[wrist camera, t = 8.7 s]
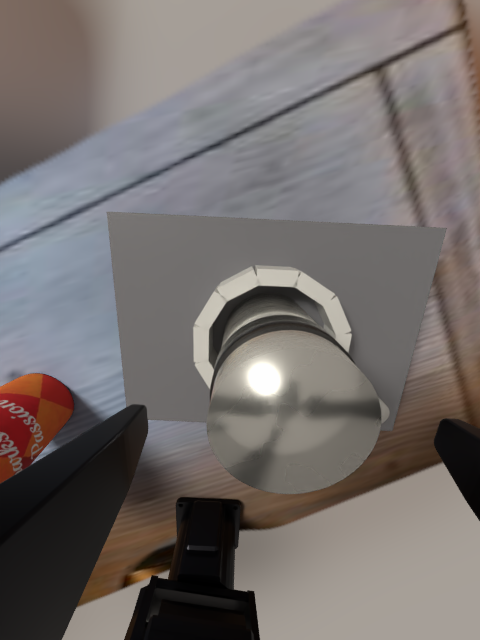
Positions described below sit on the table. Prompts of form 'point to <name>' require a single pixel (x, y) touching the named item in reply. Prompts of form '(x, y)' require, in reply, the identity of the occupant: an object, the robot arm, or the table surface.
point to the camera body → (257, 278)
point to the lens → (288, 401)
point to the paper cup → (30, 419)
